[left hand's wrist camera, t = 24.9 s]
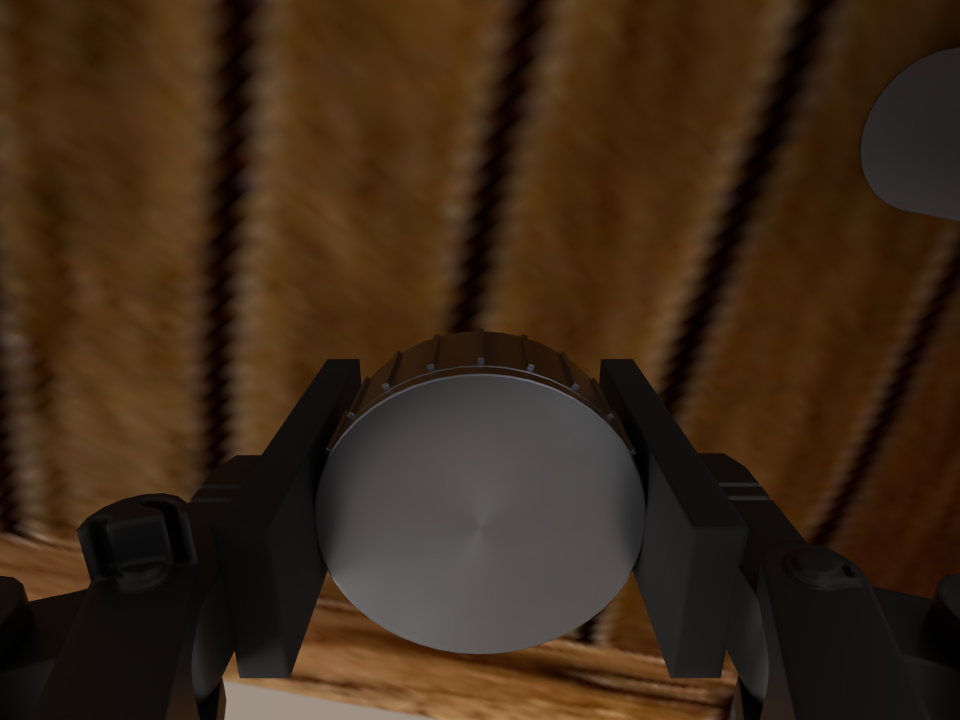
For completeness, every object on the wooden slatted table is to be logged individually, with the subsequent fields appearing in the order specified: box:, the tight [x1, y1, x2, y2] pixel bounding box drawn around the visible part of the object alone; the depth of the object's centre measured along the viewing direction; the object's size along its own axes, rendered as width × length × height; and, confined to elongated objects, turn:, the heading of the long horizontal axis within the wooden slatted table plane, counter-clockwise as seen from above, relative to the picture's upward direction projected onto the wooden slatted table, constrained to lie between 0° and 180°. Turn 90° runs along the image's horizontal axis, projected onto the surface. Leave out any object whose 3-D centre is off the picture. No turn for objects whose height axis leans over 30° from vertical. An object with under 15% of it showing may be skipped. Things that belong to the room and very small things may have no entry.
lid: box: [314, 329, 647, 654], centre depth 11 cm, size 6×6×2 cm
